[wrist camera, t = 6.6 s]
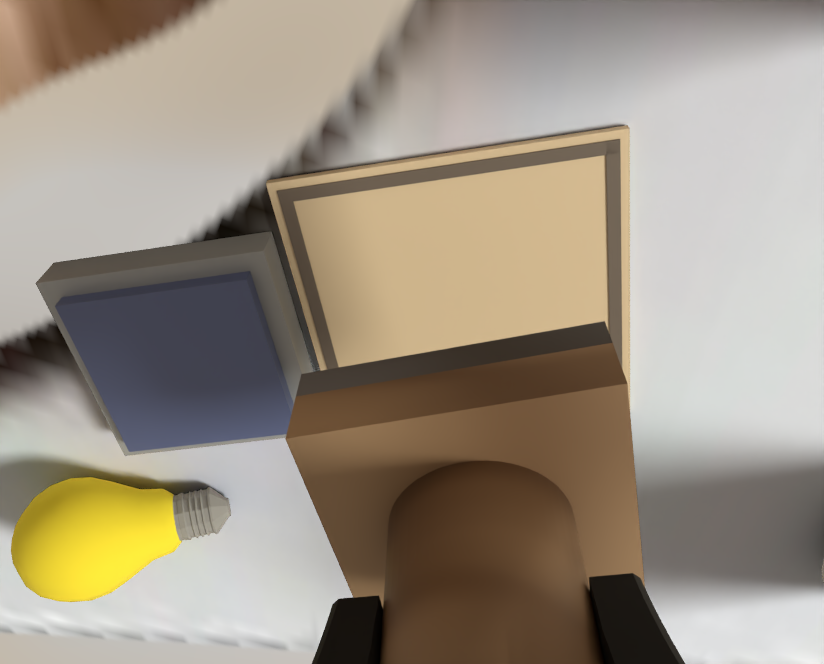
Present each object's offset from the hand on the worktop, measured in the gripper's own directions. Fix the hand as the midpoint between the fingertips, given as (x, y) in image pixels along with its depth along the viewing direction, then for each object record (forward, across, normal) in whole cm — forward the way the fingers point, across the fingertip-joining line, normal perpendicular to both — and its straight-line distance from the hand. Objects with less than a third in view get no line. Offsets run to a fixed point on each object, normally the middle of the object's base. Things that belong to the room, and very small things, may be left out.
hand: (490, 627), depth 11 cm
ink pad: (+9, +7, 0) cm, 11 cm away
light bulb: (+9, +11, +5) cm, 15 cm away
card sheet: (+9, 0, 0) cm, 9 cm away
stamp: (+3, 0, 0) cm, 3 cm away
